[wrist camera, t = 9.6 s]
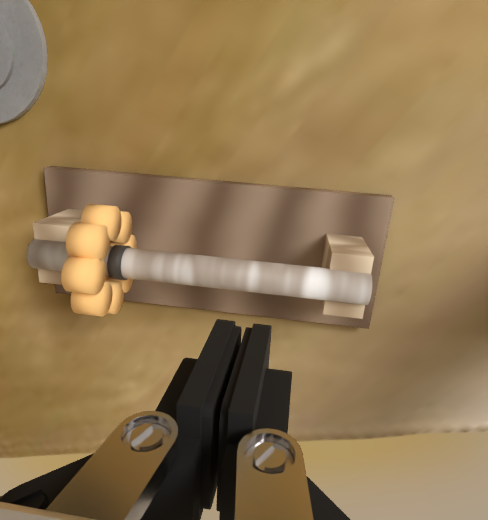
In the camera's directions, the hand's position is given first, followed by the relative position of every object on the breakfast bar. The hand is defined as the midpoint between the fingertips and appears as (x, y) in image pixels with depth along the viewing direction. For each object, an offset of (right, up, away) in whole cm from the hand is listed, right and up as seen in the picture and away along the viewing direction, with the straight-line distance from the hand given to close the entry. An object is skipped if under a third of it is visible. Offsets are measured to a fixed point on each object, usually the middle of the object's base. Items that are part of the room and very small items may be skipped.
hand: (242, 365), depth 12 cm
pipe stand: (-3, +5, +25) cm, 25 cm away
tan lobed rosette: (-10, +5, +23) cm, 26 cm away
